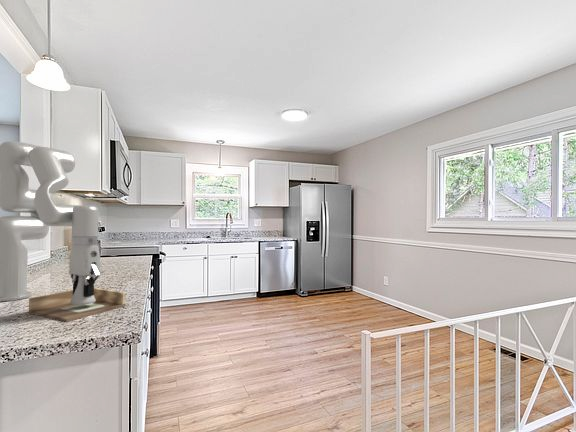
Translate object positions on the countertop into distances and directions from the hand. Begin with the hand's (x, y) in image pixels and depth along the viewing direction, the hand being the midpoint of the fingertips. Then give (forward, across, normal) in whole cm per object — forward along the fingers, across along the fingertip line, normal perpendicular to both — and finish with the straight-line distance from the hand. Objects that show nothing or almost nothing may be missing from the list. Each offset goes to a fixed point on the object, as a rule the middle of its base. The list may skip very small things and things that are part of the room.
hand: (83, 294), depth 107 cm
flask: (+3, 0, 0) cm, 3 cm away
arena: (+5, +2, 0) cm, 5 cm away
